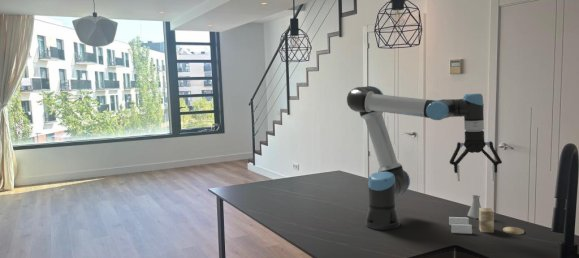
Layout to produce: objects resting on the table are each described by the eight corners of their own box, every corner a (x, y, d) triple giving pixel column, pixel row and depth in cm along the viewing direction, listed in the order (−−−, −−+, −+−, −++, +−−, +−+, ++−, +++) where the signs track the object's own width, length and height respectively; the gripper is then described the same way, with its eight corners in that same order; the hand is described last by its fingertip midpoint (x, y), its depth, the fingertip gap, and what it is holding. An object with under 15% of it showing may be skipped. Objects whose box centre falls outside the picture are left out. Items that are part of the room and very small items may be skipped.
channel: (451, 232, 185) (451, 224, 184) (449, 224, 195) (449, 216, 195) (471, 233, 182) (471, 225, 182) (468, 225, 193) (468, 217, 193)
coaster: (505, 234, 180) (505, 232, 180) (501, 227, 188) (501, 226, 188) (526, 235, 178) (526, 233, 178) (521, 228, 186) (521, 227, 186)
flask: (474, 219, 200) (474, 198, 199) (464, 215, 207) (464, 194, 206) (487, 218, 202) (488, 196, 201) (477, 213, 209) (477, 193, 208)
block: (480, 232, 184) (481, 211, 183) (478, 228, 189) (478, 207, 188) (493, 232, 183) (493, 211, 182) (491, 228, 188) (491, 208, 187)
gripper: (443, 132, 183) (444, 182, 185) (508, 130, 176) (509, 182, 178) (442, 130, 190) (443, 178, 192) (505, 128, 183) (506, 178, 185)
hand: (475, 180), depth 185 cm, fingers open, 13 cm apart
